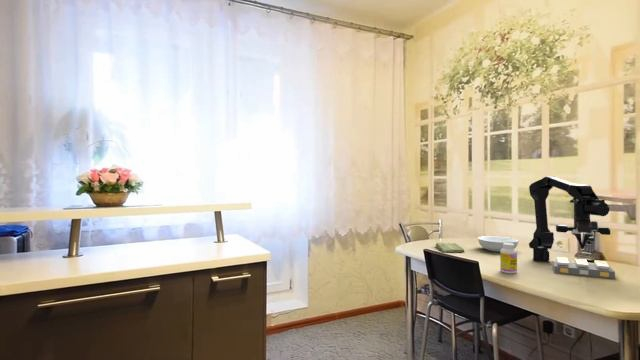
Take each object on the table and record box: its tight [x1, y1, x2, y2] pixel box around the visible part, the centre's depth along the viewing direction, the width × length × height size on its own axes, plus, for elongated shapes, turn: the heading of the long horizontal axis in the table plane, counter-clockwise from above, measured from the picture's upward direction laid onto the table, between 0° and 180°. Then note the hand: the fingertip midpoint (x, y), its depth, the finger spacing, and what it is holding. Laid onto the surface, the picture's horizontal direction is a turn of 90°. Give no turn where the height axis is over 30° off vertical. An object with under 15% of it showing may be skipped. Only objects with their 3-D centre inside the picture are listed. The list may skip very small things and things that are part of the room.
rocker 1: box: [556, 256, 570, 266], centre depth 158 cm, size 4×6×1 cm, turn 151°
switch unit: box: [551, 260, 616, 280], centre depth 155 cm, size 21×10×3 cm, turn 61°
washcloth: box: [435, 242, 465, 253], centre depth 207 cm, size 13×18×3 cm
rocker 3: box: [594, 259, 610, 269], centre depth 151 cm, size 4×6×1 cm, turn 151°
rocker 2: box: [574, 258, 589, 267], centre depth 155 cm, size 4×6×1 cm, turn 151°
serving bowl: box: [477, 235, 519, 253], centre depth 202 cm, size 21×21×7 cm
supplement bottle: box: [499, 243, 518, 275], centre depth 158 cm, size 7×7×13 cm
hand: (582, 249), depth 153 cm, fingers closed
